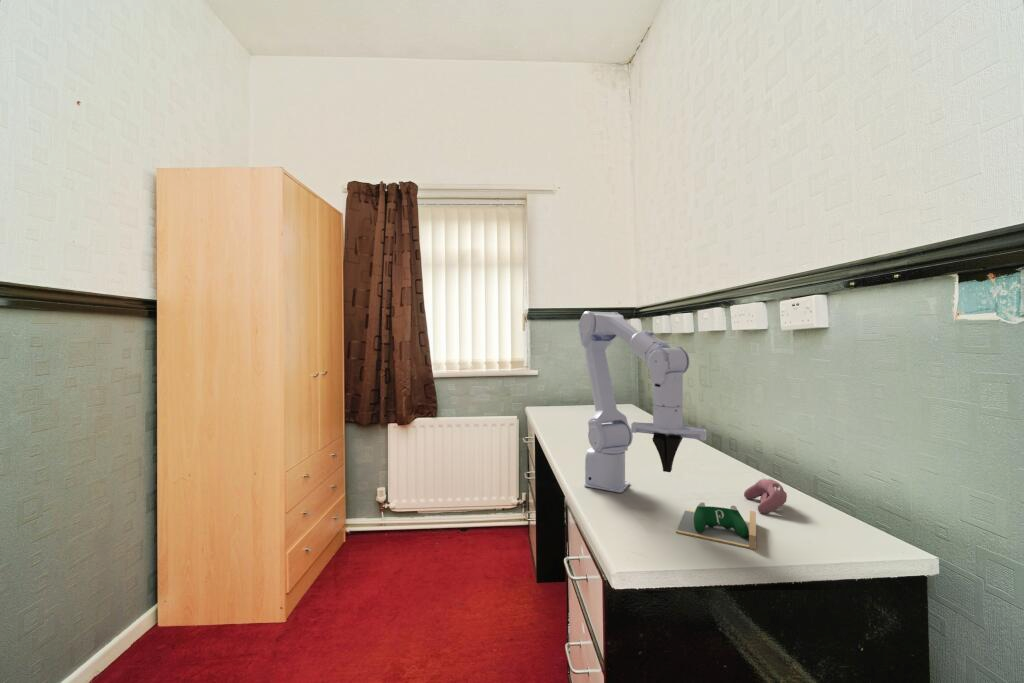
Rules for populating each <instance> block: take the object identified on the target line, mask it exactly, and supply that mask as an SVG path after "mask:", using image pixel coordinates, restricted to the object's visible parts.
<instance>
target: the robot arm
mask: <svg viewBox="0 0 1024 683" xmlns="http://www.w3.org/2000/svg"><path fill="white" fill-rule="evenodd" d="M578 331H579V336H580V343H581V346H582V347H583V350H584V356H585V362H586V366H587V372H588V373H587V374H588V376H589V382H590V383H589V384H590V388H591V394H592V400H593V405H594V408H595V413H594V414H593V415H592V416H591V417H590V419H589V420H588V421H587V425H588V432H587V438H588V443H589V444H590V446H591V447H589V448H588V449H587V451H586V453H585V459H584V460H585V463H584V464H585V465H584V470H585V471H584V473H585V476H584V481H585V482H584V485H583V486H584V487H587V488H593V489H599V490H603V491H609V492H614V493H619V494H620V493H623V492H624V491H625V490H626V489H627V488H628V486H629V485H630V484H631V482H630V481H628V480H626V452H627V451H628V450H629V448H628V447H630V446H631V445H632V442H633V433H636V434H637V433H638V434H650V435H653V437H652V438H651V440H652V442H653V444H654V447H655V448H656V451H657V453H658V456H659V458H660V462H661V465H662V471H663V472H664V473H671V471H673V465H674V459H675V457H676V454H677V451H678V448H679V447H680V444H681V443H682V440H683V439H684V438H685V439H693V440H699V441H704V442H705V441H706V440H707V429H705V428H698V427H692V426H686V425H685V426H684V425H683V408H684V407H683V406H684V405H683V404H684V403H683V400H684V399H683V397H684V396H683V393H684V392H683V386H684V385H683V382H684V380H683V379H684V374H685V373H687V371H688V369H689V366H690V357H689V355H688V352H687V351H686V350H685V349H684V348H683V347H682V346H671V345H669V342H668V341H666V340H662V339H660V338H658V337H657V336H655V335H654V334H655V332H654V331H652V330H640V331H639V330H637V328H636V327H634V326H633V325H631V323H629V322H628V321H627V320H625V318H624V315H622V314H621V313H619V312H617V311H612V312H610V311H609V312H608V311H607V312H604V311H603V312H602V311H589V310H586V311H584V312H583V313H582V315H581V316H580V319H579V322H578ZM617 337H618V338H620V339H621V340H622V341H625V342H626V343H628V344H629V349H630V351H631V352H632V353H633V354H635V355H636V356H637V357H639V358H640V359H641V360H643V361H644V362H645V363H646V366H647V368H648V371H649V372H650V380H651V383H653V387H652V388H653V391H652V394H653V395H652V396H653V398H652V399H653V400H652V401H653V403H652V404H653V405H652V406H653V407H652V412H653V413H652V422H636V421H632V423H631V427H630V424H629V423H628V422H629V421H628V420H627V419H628V418H627V416H626V415H625V414H624V413H622V412H621V411H619V409H618V408H617V403H616V399H615V394H614V390H613V389H614V388H613V382H612V377H611V373H610V368H609V364H608V359H607V353H606V350H607V348H608V347H609V346H611V345H612V344H613V342H614V341H615V340H616V339H617Z"/></svg>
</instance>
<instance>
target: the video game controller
mask: <svg viewBox="0 0 1024 683" xmlns="http://www.w3.org/2000/svg"><path fill="white" fill-rule="evenodd" d="M743 496H744V498H745V499H747V500H755V499H758V498H760V503H759V504H758V505H757V511H758V512H759V513H760V514H763V515H765V514H770V513H773V512H775V511H776V510H778V509H779V508H780V507H782V506H783V505H784V504H786V502H787V498H788V494H787V492H786V491H785V490H784V488H783V486H782V485H781V484H780V483H779V482H778V481H776V480H774V479H771V478H765V477H763V478H762V479H759V480H758V481H756V482H755V483H754V484H753V485H751V486H750V487H748V488H747V489H746V490H745V491H744V494H743Z"/></svg>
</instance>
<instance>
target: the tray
mask: <svg viewBox="0 0 1024 683" xmlns="http://www.w3.org/2000/svg"><path fill="white" fill-rule="evenodd" d="M694 513H695V510H690V509H685V510H684V512H683V514H682V517H681V519H680V522H679V524H678V526H677V529H676V534H681V535H685V536H690V537H694V538H699V539H703V540H709V541H713V542H718V543H722V544H727V545H732V546H737V547H741V548H746V549H751V550H756V549H757V548H756V547H757V544H756V543H757V542H756V540H757V539H756V538H757V526H756V525H757V522H756V521H757V515H756V514H757V511H753V510H749V520H748V521H747V520H744V521H745V522H746V525H747V527H748V530H749V537H748V538H743V537H741V536H739V535H738V533H737V532H736V531H735V530H734V529H733V528H730V529H726V528H724V527H716V526H714V527H709V526H707V525H706V526H705V528H704V531H703V532H700V533H698V532H697V531H696V530H695V527H694Z"/></svg>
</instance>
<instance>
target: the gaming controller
mask: <svg viewBox="0 0 1024 683" xmlns="http://www.w3.org/2000/svg"><path fill="white" fill-rule="evenodd" d="M694 511H695V513H694V527H695V530H696V531H697V532H698V533H700V532H703V531H704V528H705V526H706V525H707V526H709V527H714V526H716V527H724V528H726V529H730V528H733V529H734V530H735V531H736V532H737V533H738V535H739V536H741V537H743V538H748V537H749V530H748V527H747V525H746V522H745V521H746V520H745V519H744V518H743V516H742V514H741V512H740V511H739V510H738V508H737V506H736V505H730V506H729V508H728V507H727V508H726V507H719V506H710V505H709V506H708V505H707V506H706V503H705V502H703V501H702V502H699V503H698V505H697V506H696V508H695V509H694Z"/></svg>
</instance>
